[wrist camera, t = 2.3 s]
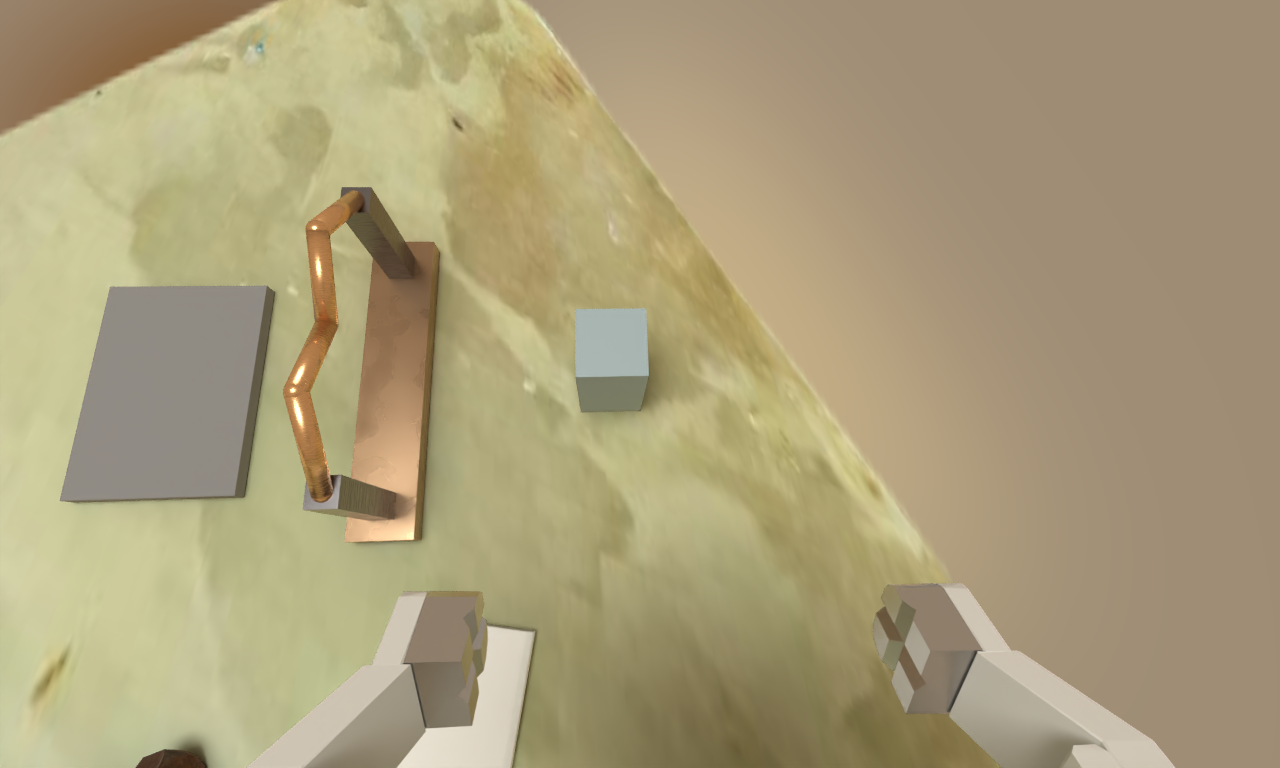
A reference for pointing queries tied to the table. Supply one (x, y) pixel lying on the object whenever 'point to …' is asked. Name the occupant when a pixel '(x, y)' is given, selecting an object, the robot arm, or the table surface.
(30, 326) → the table surface
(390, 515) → the wire frame
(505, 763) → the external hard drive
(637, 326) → the block
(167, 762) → the bolt
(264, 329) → the pad
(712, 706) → the table surface
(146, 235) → the table surface
